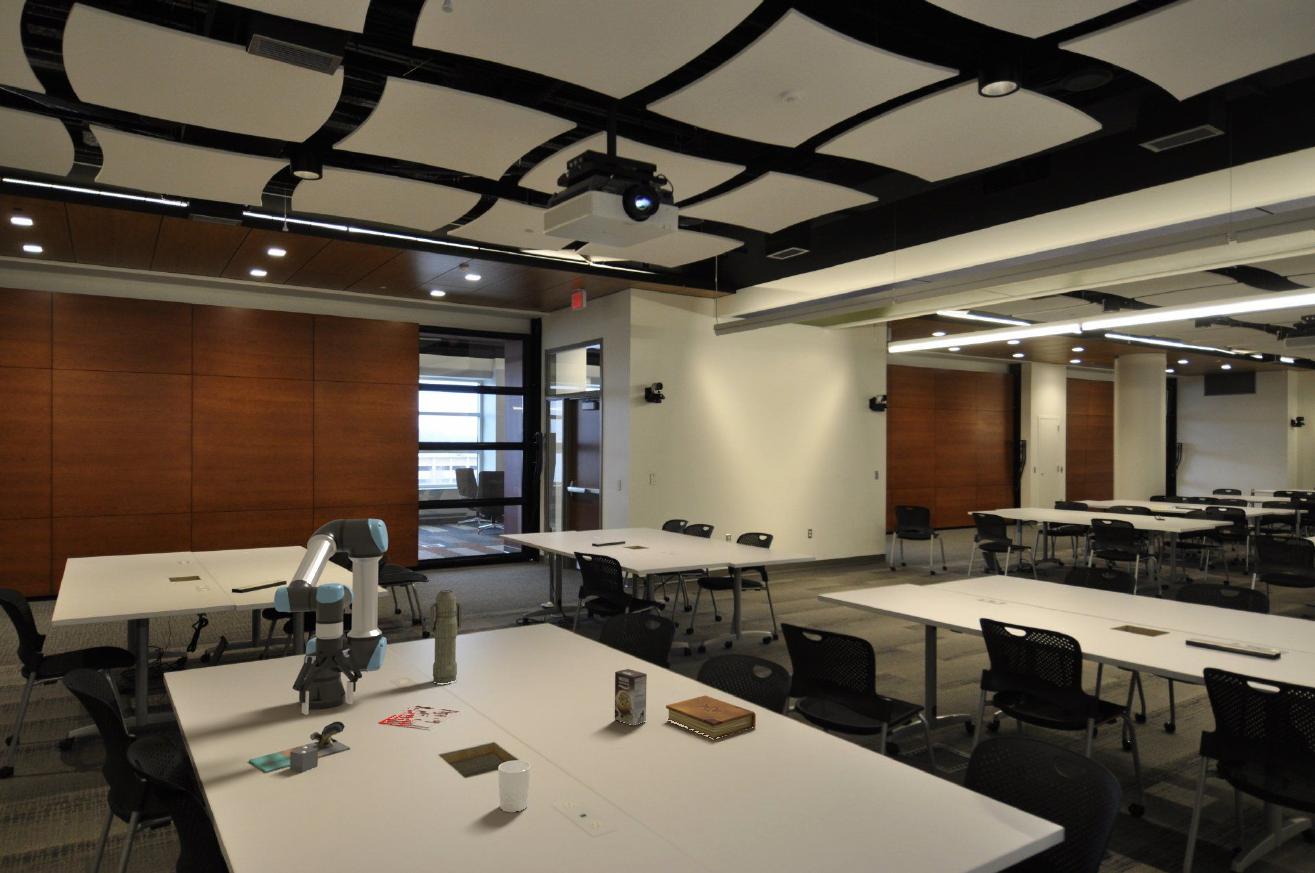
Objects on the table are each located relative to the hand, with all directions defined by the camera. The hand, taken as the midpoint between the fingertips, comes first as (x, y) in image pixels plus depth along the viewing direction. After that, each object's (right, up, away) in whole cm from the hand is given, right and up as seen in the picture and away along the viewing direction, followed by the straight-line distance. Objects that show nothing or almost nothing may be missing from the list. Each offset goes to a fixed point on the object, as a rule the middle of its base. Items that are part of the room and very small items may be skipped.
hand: (327, 708), depth 236 cm
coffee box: (+89, -13, +25) cm, 94 cm away
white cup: (+63, -11, -39) cm, 75 cm away
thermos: (+16, -14, +71) cm, 74 cm away
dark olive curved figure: (0, -12, 0) cm, 12 cm away
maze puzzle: (+20, -13, +28) cm, 37 cm away
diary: (+116, -14, +23) cm, 119 cm away
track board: (-5, -12, -6) cm, 14 cm away
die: (0, -12, -15) cm, 19 cm away
